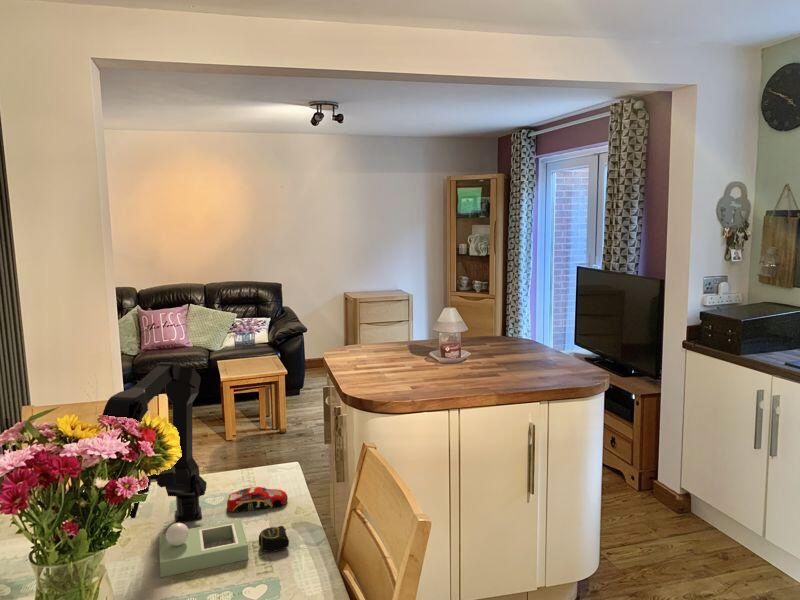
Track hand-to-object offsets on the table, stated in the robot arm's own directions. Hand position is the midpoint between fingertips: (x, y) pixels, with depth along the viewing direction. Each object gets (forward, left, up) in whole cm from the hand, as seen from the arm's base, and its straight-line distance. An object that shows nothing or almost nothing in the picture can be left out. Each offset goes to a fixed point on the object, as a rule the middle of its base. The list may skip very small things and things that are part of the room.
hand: (133, 517), depth 136 cm
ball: (0, +9, -6) cm, 11 cm away
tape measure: (+3, +31, -12) cm, 34 cm away
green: (0, +14, -12) cm, 19 cm away
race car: (-20, +30, -12) cm, 38 cm away
